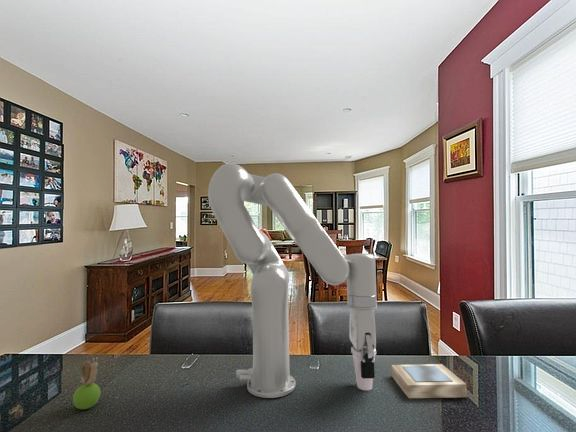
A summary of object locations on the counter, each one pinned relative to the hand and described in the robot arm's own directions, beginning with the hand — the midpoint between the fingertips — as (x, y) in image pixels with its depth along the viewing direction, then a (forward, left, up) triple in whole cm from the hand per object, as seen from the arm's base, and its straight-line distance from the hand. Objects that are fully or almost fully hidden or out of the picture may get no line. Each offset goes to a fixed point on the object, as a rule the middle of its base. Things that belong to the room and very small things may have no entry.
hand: (364, 370), depth 81 cm
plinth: (+16, 0, -4) cm, 16 cm away
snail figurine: (-66, -8, -4) cm, 67 cm away
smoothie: (0, 0, -4) cm, 4 cm away
